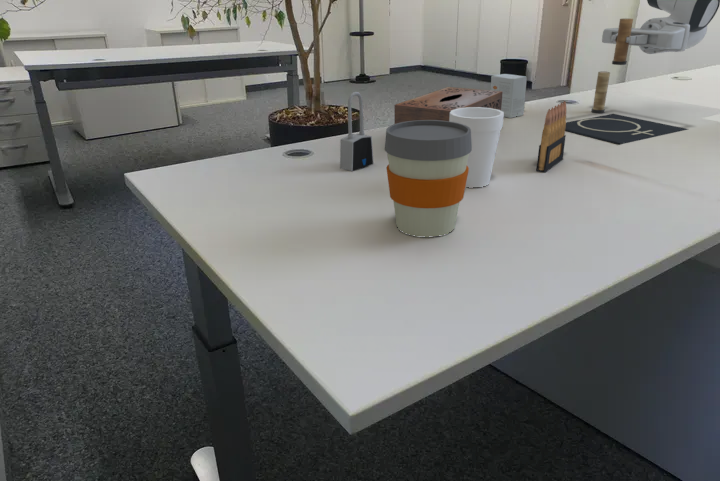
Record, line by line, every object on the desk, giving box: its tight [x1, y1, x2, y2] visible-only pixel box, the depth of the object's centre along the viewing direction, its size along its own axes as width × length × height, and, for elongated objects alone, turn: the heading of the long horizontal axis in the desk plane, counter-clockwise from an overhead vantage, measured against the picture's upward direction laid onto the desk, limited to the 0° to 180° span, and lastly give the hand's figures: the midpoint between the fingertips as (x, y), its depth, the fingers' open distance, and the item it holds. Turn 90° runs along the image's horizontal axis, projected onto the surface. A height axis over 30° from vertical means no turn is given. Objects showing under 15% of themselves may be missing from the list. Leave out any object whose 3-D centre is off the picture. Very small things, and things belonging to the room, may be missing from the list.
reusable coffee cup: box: [384, 120, 472, 237], centre depth 81 cm, size 13×13×15 cm
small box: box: [490, 73, 528, 119], centre depth 151 cm, size 8×6×10 cm
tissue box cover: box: [394, 86, 503, 124], centre depth 128 cm, size 26×14×10 cm, turn 145°
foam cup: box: [449, 107, 505, 189], centre depth 100 cm, size 10×9×13 cm
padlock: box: [339, 91, 374, 172], centre depth 110 cm, size 7×4×15 cm, turn 138°
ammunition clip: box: [535, 100, 567, 173], centre depth 108 cm, size 11×2×12 cm, turn 144°
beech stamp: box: [611, 17, 634, 66], centre depth 138 cm, size 3×3×11 cm
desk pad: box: [565, 113, 689, 146], centre depth 136 cm, size 22×24×1 cm
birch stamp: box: [591, 70, 611, 114], centre depth 152 cm, size 3×3×11 cm
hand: (620, 39), depth 138 cm, fingers closed on beech stamp, 3 cm apart
